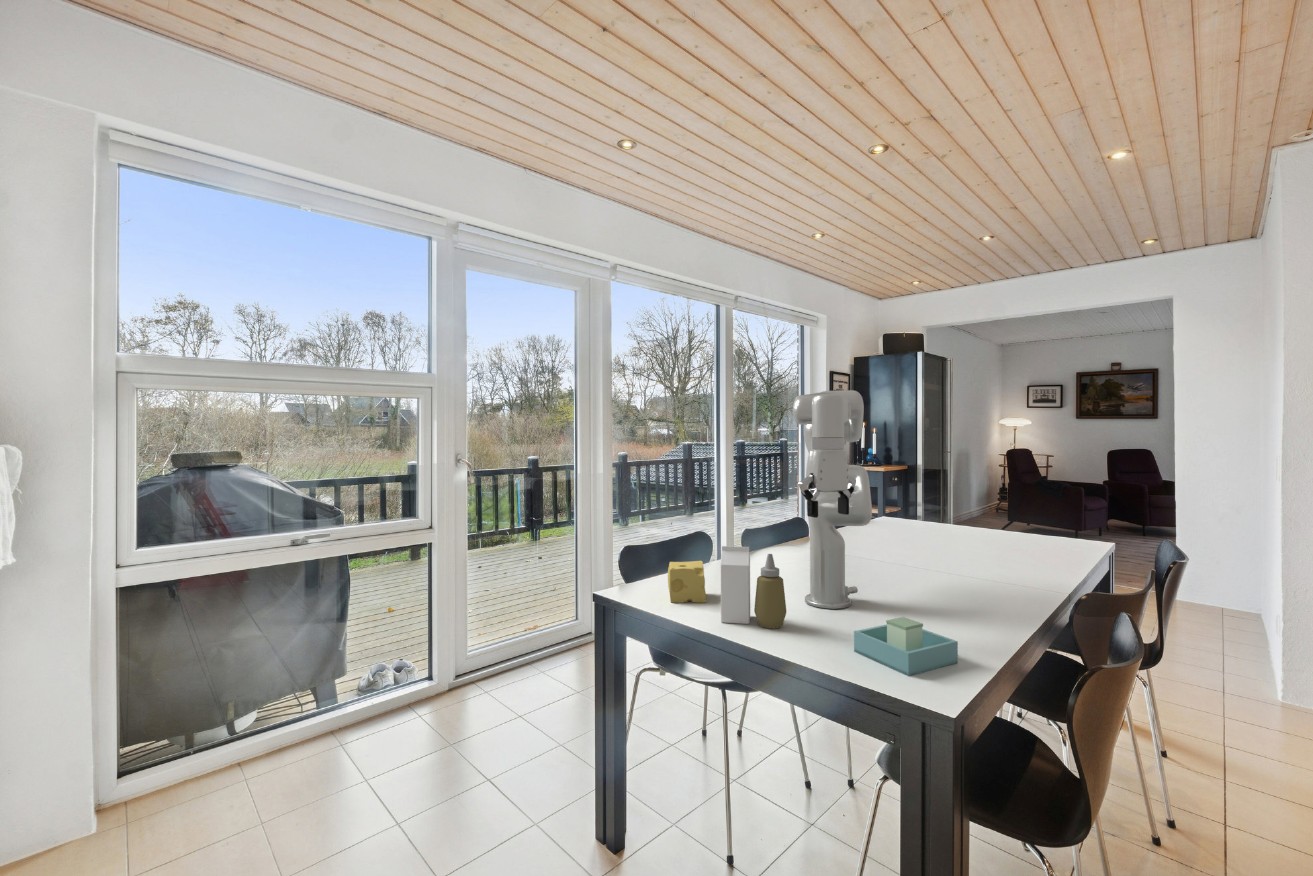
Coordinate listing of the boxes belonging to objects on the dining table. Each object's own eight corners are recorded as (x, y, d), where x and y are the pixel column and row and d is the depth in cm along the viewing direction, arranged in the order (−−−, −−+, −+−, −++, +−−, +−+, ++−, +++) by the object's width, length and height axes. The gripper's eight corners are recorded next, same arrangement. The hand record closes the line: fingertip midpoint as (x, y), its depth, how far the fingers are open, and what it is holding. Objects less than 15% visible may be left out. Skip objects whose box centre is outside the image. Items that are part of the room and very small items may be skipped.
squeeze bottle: (752, 620, 153) (751, 550, 152) (783, 620, 152) (783, 550, 152) (756, 630, 144) (756, 557, 144) (789, 630, 144) (789, 557, 144)
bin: (901, 640, 137) (901, 621, 137) (957, 662, 124) (957, 641, 124) (854, 651, 131) (854, 631, 130) (908, 676, 117) (908, 653, 117)
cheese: (706, 603, 168) (705, 568, 168) (668, 603, 168) (667, 568, 168) (703, 593, 178) (703, 560, 178) (667, 593, 178) (667, 560, 178)
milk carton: (749, 624, 149) (748, 549, 149) (721, 623, 151) (720, 548, 150) (750, 615, 156) (749, 544, 156) (723, 614, 158) (723, 543, 157)
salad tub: (903, 648, 131) (903, 616, 131) (923, 656, 126) (923, 623, 126) (886, 652, 128) (886, 620, 128) (905, 660, 124) (905, 627, 124)
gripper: (843, 444, 150) (844, 511, 151) (789, 445, 143) (790, 516, 143) (866, 444, 144) (866, 514, 144) (810, 446, 136) (810, 520, 136)
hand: (828, 515), depth 143 cm, fingers open, 9 cm apart
